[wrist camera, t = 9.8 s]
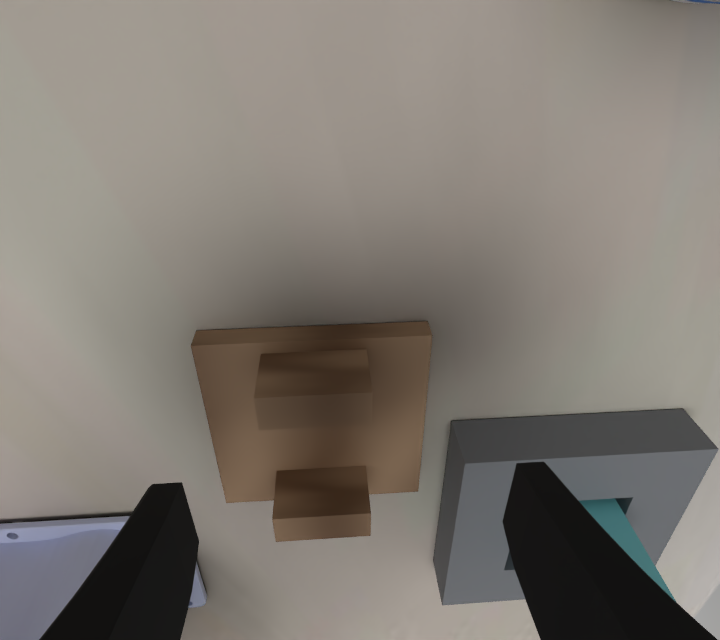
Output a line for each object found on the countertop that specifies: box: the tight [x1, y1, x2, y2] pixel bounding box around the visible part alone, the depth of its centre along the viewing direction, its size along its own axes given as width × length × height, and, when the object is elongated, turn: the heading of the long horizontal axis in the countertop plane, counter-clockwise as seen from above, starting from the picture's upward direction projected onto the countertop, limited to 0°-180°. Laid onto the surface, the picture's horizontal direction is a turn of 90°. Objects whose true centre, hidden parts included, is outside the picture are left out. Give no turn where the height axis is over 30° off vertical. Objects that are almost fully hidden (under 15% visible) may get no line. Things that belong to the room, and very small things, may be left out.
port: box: [433, 409, 718, 605], centre depth 25 cm, size 11×11×3 cm
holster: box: [191, 321, 432, 542], centre depth 21 cm, size 9×9×4 cm
